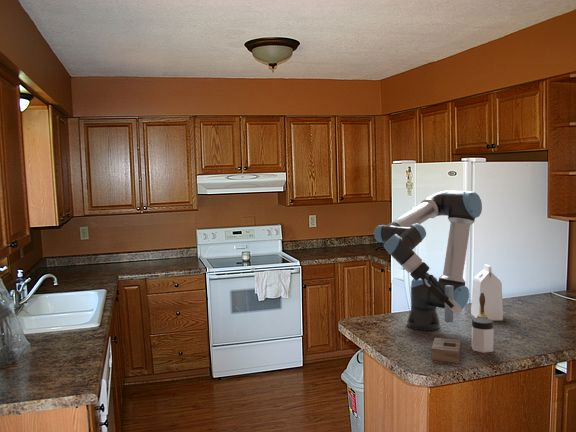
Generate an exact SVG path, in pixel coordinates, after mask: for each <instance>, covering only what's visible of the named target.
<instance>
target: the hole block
mask: <svg viewBox="0 0 576 432" xmlns="http://www.w3.org/2000/svg"><path fill="white" fill-rule="evenodd" d="M460 356H461V339H451V338H443V337H442V338H441V337H434V340H433V343H432V347H431V361H438V362H447V363H456V364H457V363H458V364H459V363H460Z"/></svg>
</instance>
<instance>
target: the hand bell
mask: <svg viewBox="0 0 576 432" xmlns="http://www.w3.org/2000/svg"><path fill="white" fill-rule="evenodd" d="M479 302H480V306H481V308H480V310H481V311H480V314H479V315H477V318H486V319H488V318H487V315H485V314H484V305H485V296H484V293H481V295H480V298H479Z"/></svg>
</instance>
